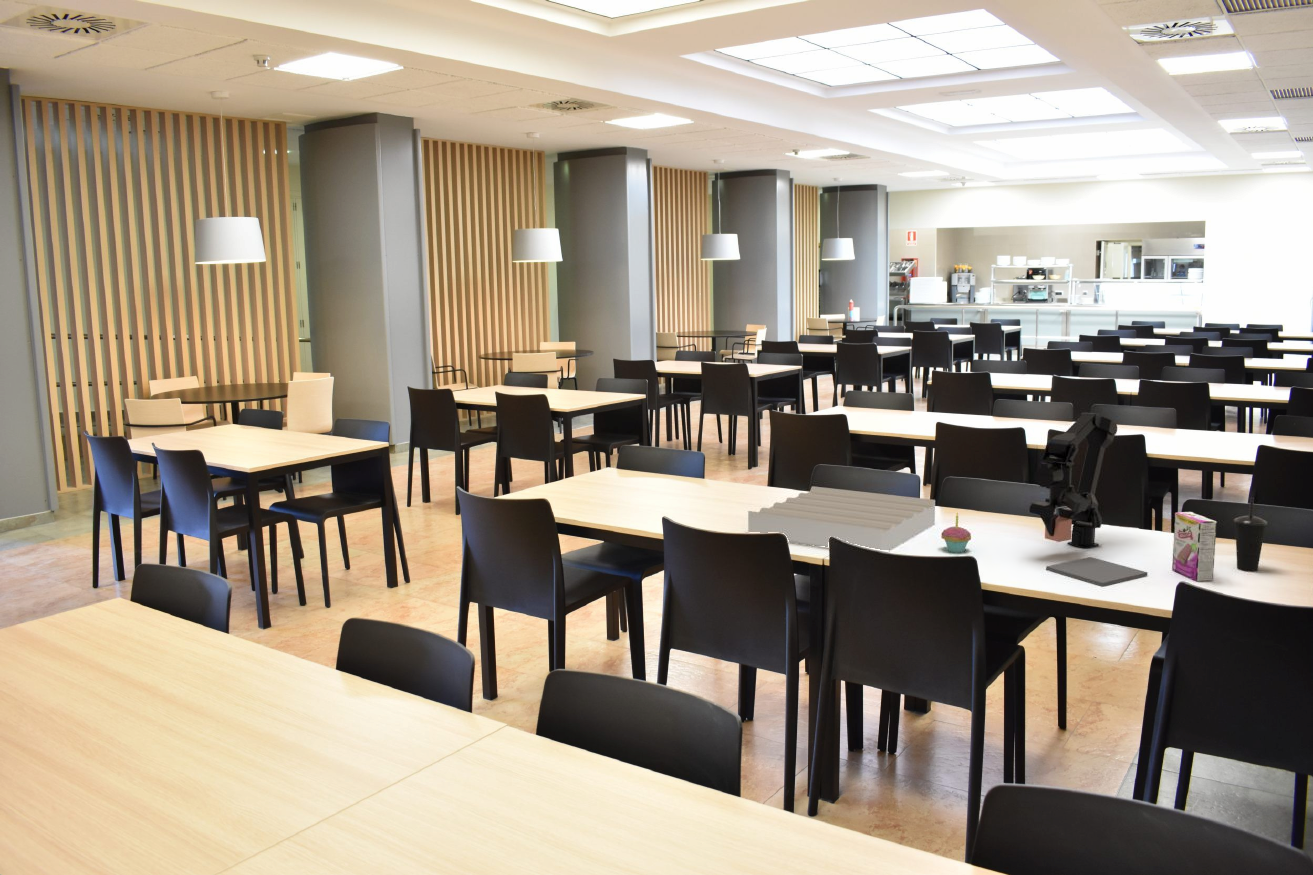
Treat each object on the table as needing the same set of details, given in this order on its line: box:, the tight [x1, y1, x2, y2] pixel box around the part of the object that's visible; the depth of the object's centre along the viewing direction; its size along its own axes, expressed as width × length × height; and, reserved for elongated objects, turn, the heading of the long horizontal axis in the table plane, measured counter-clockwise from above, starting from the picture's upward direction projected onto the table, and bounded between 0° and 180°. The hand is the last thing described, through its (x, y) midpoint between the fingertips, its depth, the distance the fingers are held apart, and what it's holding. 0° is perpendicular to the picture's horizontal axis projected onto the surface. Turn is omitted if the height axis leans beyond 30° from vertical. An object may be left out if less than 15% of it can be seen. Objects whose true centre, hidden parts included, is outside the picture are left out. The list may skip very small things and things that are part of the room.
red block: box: [1044, 517, 1073, 543], centre depth 283 cm, size 5×5×6 cm
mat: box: [1045, 556, 1148, 587], centre depth 267 cm, size 18×18×1 cm
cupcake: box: [940, 512, 972, 553], centre depth 291 cm, size 9×8×12 cm
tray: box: [747, 486, 936, 552], centre depth 318 cm, size 45×45×9 cm
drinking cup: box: [1233, 497, 1268, 572], centre depth 266 cm, size 8×8×20 cm
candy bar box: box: [1171, 511, 1218, 583], centre depth 261 cm, size 11×5×16 cm, turn 5°
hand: (1057, 534), depth 283 cm, fingers closed on red block, 5 cm apart
